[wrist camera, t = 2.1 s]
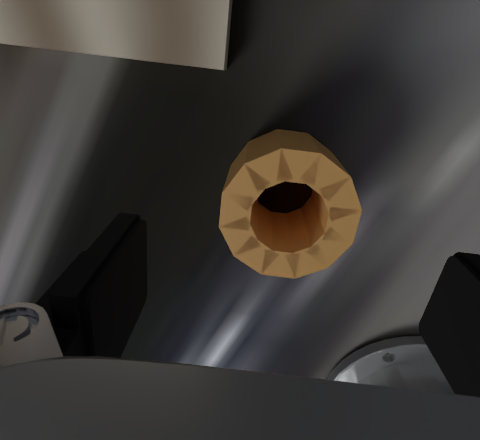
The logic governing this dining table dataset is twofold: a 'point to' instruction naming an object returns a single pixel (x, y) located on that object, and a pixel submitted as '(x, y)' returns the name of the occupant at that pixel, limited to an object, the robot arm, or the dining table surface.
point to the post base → (124, 28)
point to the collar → (293, 223)
